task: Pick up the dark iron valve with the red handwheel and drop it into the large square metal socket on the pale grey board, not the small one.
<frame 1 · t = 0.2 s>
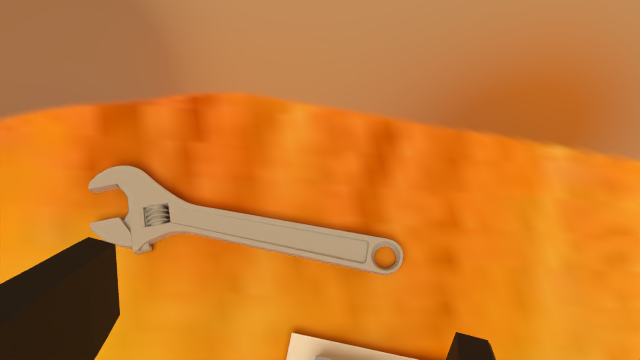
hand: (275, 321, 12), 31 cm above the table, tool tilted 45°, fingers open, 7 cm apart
adjustable wrench: (238, 239, 45), on the table
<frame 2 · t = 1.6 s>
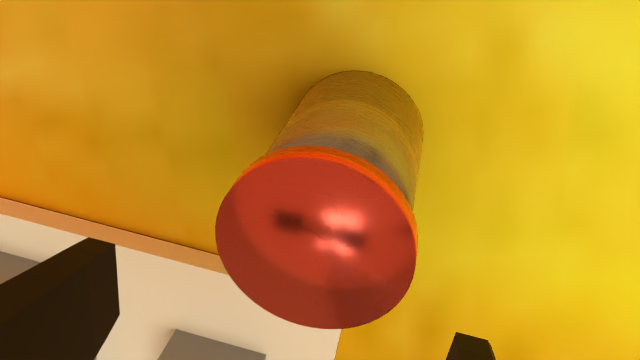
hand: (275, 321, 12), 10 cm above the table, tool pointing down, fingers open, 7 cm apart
valve: (357, 133, 20), on the table
socket board: (128, 329, 28), on the table
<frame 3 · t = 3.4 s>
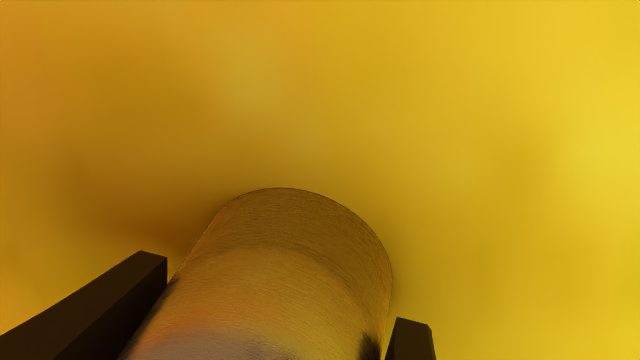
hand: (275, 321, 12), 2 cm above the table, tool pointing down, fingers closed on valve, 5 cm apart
valve: (294, 272, 13), on the table, touching gripper
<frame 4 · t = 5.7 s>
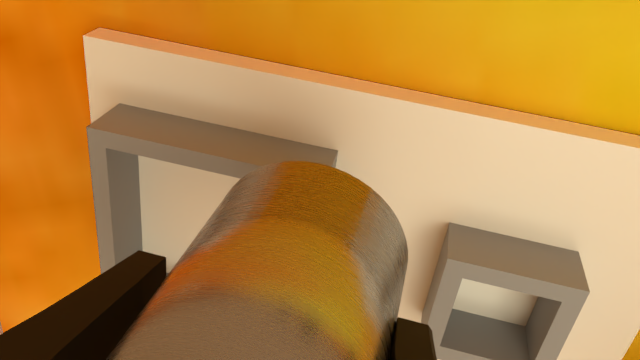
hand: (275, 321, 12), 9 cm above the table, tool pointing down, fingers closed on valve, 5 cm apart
valve: (310, 246, 13), point 7 cm above the table, touching gripper
socket board: (358, 235, 21), on the table
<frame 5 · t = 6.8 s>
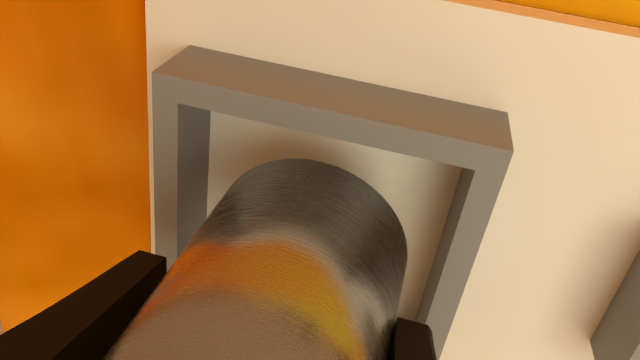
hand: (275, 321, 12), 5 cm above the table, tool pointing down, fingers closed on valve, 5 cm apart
valve: (309, 244, 13), point 3 cm above the table, touching gripper
socket board: (504, 233, 16), on the table
when the fingers open (4 cm above the table, at t = 7.9 s): valve stays where it is, resting on socket board.
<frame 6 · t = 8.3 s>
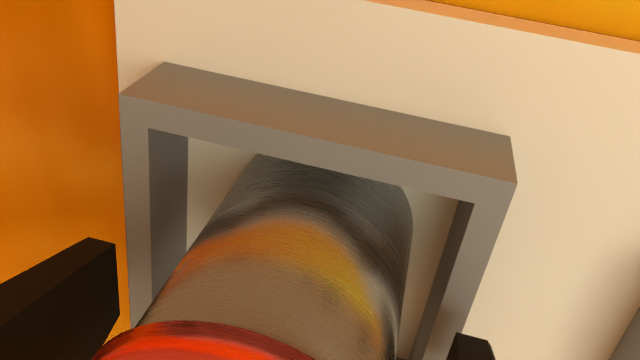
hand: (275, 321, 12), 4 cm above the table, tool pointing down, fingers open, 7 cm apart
valve: (320, 221, 14), point 1 cm above the table, touching socket board
socket board: (506, 262, 15), on the table
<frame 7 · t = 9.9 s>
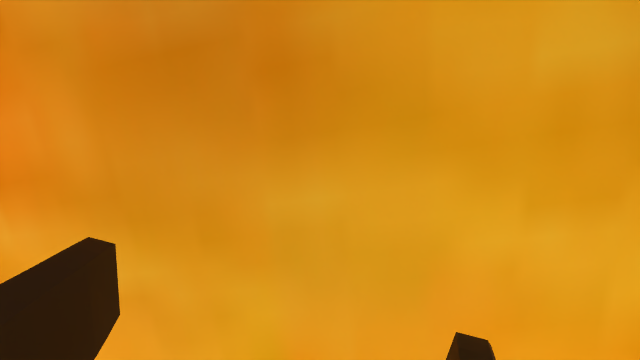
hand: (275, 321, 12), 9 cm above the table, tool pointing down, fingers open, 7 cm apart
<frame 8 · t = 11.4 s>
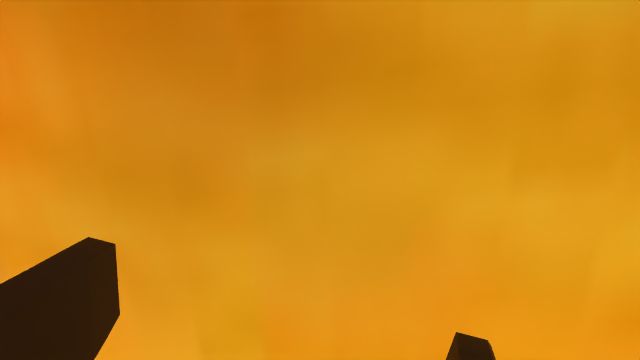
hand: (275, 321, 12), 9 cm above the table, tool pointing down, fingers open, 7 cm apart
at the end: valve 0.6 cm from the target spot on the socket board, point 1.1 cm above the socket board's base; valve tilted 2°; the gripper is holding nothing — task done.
